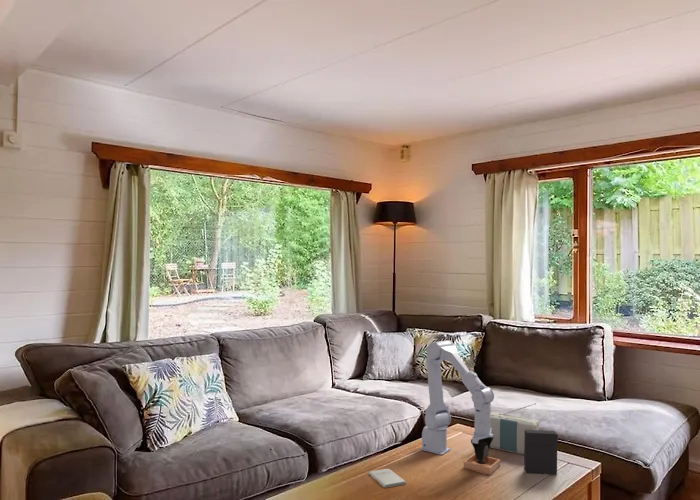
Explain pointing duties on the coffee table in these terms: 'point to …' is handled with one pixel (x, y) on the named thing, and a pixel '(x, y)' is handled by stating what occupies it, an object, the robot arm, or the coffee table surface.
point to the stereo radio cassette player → (510, 431)
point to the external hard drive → (387, 478)
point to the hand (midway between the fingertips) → (482, 457)
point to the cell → (485, 457)
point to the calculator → (540, 452)
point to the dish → (482, 465)
